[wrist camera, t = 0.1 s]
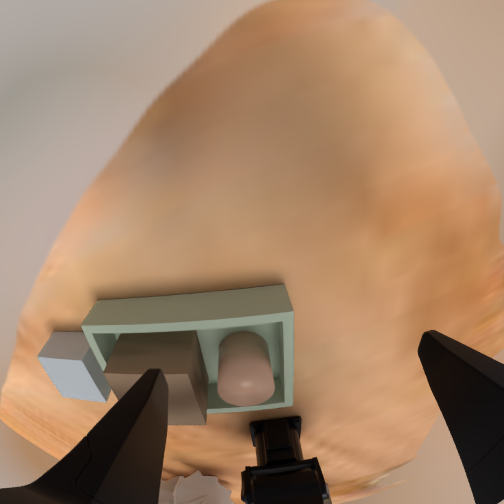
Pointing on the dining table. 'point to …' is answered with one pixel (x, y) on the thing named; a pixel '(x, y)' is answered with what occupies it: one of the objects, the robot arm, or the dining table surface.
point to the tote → (206, 331)
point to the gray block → (74, 367)
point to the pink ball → (244, 369)
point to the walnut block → (164, 370)
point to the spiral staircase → (193, 490)
